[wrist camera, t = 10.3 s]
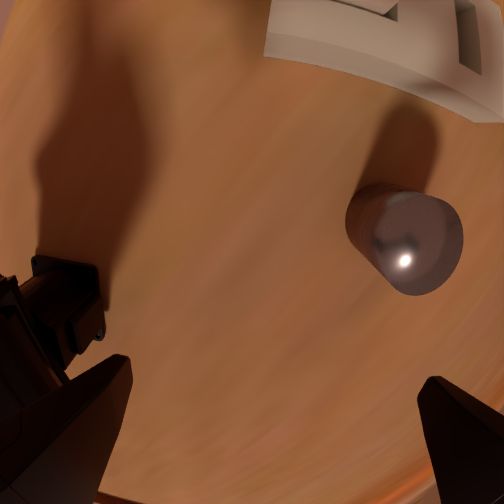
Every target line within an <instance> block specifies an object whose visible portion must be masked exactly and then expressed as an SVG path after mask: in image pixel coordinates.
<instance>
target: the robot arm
mask: <svg viewBox="0 0 504 504" xmlns="http://www.w3.org/2000/svg"><path fill="white" fill-rule="evenodd" d="M36 261H37V262H36ZM31 265H32V271H33V277H31V278H30V279H29V280H27V281H26V282H24V283H23V284H22V285H20V286H18V281H17V278H16V276H15V275H13V276H10V277H7V278H6V277H4V276H2V275H1V274H0V504H93V503H94V500H95V497H96V494H97V491H98V488H99V485H100V483H101V480H102V477H103V474H104V472H105V469H106V466H107V463H108V461H109V458H110V455H111V453H112V450H113V448H114V445H115V442H116V440H117V437H118V435H119V432H120V429H121V425H122V422H123V418H124V414H125V410H126V406H127V403H128V399H129V395H130V392H131V388H132V384H133V375H132V368H131V361H130V358H129V357H128V356H124V355H120V354H114V355H112V356H110V357H109V358H107V359H105V360H104V361H102V362H100V363H99V364H97V365H95V366H94V367H92V368H90V369H89V370H87V371H85V372H84V373H82V374H80V375H79V376H77V377H75V378H74V379H72V380H70V379H69V378H68V376H67V375H66V373H65V372H64V370H66V369H67V367H68V366H69V364H70V363H71V362H72V360H73V359H74V358H75V356H76V355H77V354H79V355H81V354H83V353H84V351H85V350H86V349H87V347H88V346H89V344H90V343H91V342H92V340H96V341H102V340H103V338H104V337H105V333H104V315H103V307H102V297H101V295H100V293H99V282H98V271H97V269H96V267H95V266H93V265H89V264H83V263H78V262H72V261H67V260H62V259H56V258H51V257H46V256H41V255H35V256H33V257H32V258H31ZM89 270H90V271H91V272H92V274H91V273H90V272H89ZM98 334H99V335H100V336H99V335H98ZM417 402H418V407H419V412H420V416H421V421H422V426H423V432H424V437H425V441H426V445H427V448H428V452H429V455H430V459H431V463H432V466H433V470H434V474H435V478H436V483H437V487H438V491H439V496H440V500H441V504H504V416H503V415H502V414H500V413H499V412H497V411H495V410H494V409H492V408H491V407H489V406H487V405H486V404H484V403H483V402H481V401H479V400H478V399H476V398H475V397H473V396H472V395H470V394H468V393H467V392H465V391H464V390H462V389H460V388H459V387H457V386H456V385H454V384H452V383H451V382H449V381H448V380H446V379H445V378H443V377H441V376H431V377H429V378H428V379H427V380H426V382H425V384H424V385H423V387H422V389H421V391H420V392H419V394H418V397H417Z"/></svg>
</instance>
